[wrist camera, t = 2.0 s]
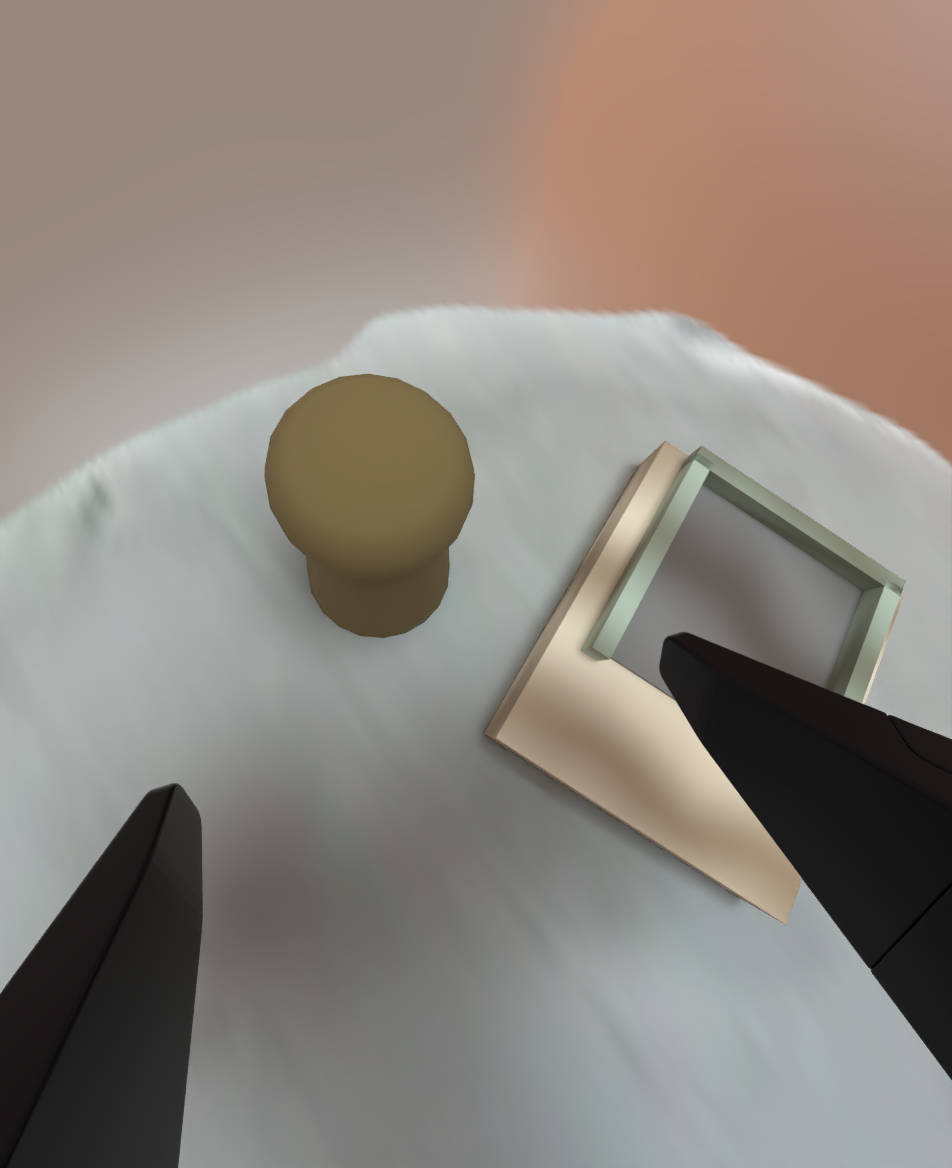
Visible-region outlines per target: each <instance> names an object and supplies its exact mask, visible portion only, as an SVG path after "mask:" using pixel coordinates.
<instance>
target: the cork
mask: <svg viewBox="0 0 952 1168" xmlns="http://www.w3.org/2000/svg"><path fill="white" fill-rule="evenodd" d="M474 479H475V474H474V468H473V464H472V460H471V456H470V452H469V448H468V444H467V440H466V437H465V436H464V434H463V432H462V431H461V429H460V428H459V426H458V425H457V423H456V421H455V420H454V418H453V417H452V415H451V413H450V412H448V411H447V410H446V409H445V408H444V407H443V406H441V405H440V404H439V403H438V402H437V401H436V400H435V399H433V398H432V397H431V396H430V395H429V394H428V393H426V392H424V391H423V390H421V389H419V388H416V387H414V386H412V385H410V384H408V383H406V382H404V381H401V380H399V379H397V378H391V377H385V376H379V375H373V374H362V375H353V376H344V377H339V378H336V379H334V380H331V381H329V382H327V383H324V384H322V385H319V386H317V387H315V388H313V389H311V390H310V391H309V392H307V393H306V394H305V395H304V396H303V397H301V398H300V399H299V400H298V401H297V402H296V403H294V404H293V405H292V406H291V407H290V408H288V409H287V410H286V411H285V413H284V415H283V416H282V418H281V420H280V422H279V423H278V425H277V427H276V428H275V430H274V432H273V433H272V435H271V437H270V442H269V448H268V453H267V458H266V464H265V482H266V487H267V493H268V499H269V505H270V508H271V510H272V512H273V514H274V515H275V517H276V519H277V521H278V522H279V524H280V526H281V528H282V529H283V531H284V533H285V535H286V536H287V538H288V539H289V540H290V542H291V543H292V544H293V545H294V546H295V547H296V548H298V549H299V550H300V551H301V552H302V553H303V554H304V555H305V556H306V557H307V568H308V575H309V581H310V586H311V591H312V594H313V596H314V597H315V599H316V601H317V603H318V604H319V606H320V608H321V610H322V611H323V612H324V613H325V614H326V615H327V616H328V617H329V618H330V619H331V620H333V621H334V622H335V623H336V624H337V625H338V626H339V627H342V628H344V629H346V630H349V631H351V632H353V633H356V634H358V635H360V636H370V637H380V638H385V637H389V636H394V635H398V634H403V633H406V632H408V631H410V630H411V629H413V628H415V627H417V626H418V625H420V624H422V623H424V622H425V621H426V620H427V619H428V618H429V616H430V615H431V614H432V613H433V612H434V611H435V610H436V609H437V608H438V606H439V605H440V603H441V600H442V598H443V596H444V594H445V591H446V589H447V587H448V577H449V566H450V565H449V549H448V547H449V546H450V545H451V544H452V543H453V542H454V541H455V540H456V539H457V537H458V535H459V533H460V531H461V529H462V527H463V524H464V522H465V520H466V518H467V515H468V513H469V511H470V509H471V506H472V503H473V491H474Z"/></svg>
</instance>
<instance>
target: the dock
mask: <svg viewBox="0 0 952 1168" xmlns="http://www.w3.org/2000/svg"><path fill="white" fill-rule="evenodd" d="M905 582H906V581H905V580H903V579H902V578H900V577H899V576H897V575H896V574H894V573H893V572H891V571H890V570H888V569H887V568H885V567H884V566H882V565H881V564H879V563H878V562H876V561H875V560H873V559H872V558H870V557H868V556H867V555H865V554H864V553H862V552H861V551H859V550H858V549H856V548H855V547H853V546H852V545H850V544H849V543H847V542H846V541H844V540H843V539H841V538H840V537H838V536H837V535H835V534H834V533H832V532H831V531H829V530H828V529H826V528H825V527H823V526H822V525H820V524H819V523H817V522H816V521H814V520H813V519H811V518H810V517H808V516H807V515H805V514H804V513H802V512H801V511H799V510H798V509H796V508H795V507H793V506H792V505H790V504H789V503H787V502H786V501H784V500H783V499H781V498H780V497H778V496H777V495H775V494H774V493H772V492H771V491H769V490H768V489H766V488H765V487H763V486H762V485H760V484H759V483H757V482H755V481H754V480H752V479H751V478H749V477H748V476H746V475H745V474H743V473H742V472H740V471H739V470H737V469H736V468H734V467H733V466H731V465H730V464H728V463H727V462H725V461H724V460H722V459H721V458H719V457H718V456H716V455H715V454H713V453H712V452H710V451H709V450H707V449H706V448H704V447H703V446H701V447H700V448H698V449H697V450H696V451H695V452H693V453H692V454H691V455H690V456H688V455H686V454H685V453H683V452H682V451H680V450H679V449H677V448H676V447H674V446H673V445H671V444H670V443H668V442H667V441H665V442H664V443H662V444H661V445H660V446H659V447H658V448H657V449H656V450H655V451H654V452H653V453H652V454H651V455H650V456H649V457H647V458H646V459H645V460H644V461H643V462H642V463H641V464H640V465H639V466H638V468H637V470H636V472H635V473H634V475H633V477H632V478H631V480H630V482H629V484H628V485H627V487H626V489H625V491H624V492H623V494H622V496H621V497H620V499H619V501H618V503H617V504H616V506H615V508H614V510H613V511H612V513H611V515H610V516H609V518H608V520H607V522H606V523H605V525H604V527H603V528H602V530H601V532H600V534H599V535H598V537H597V539H596V541H595V542H594V544H593V546H592V547H591V549H590V551H589V553H588V554H587V556H586V558H585V560H584V561H583V563H582V565H581V566H580V568H579V570H578V572H577V573H576V575H575V577H574V578H573V580H572V582H571V584H570V585H569V587H568V589H567V591H566V592H565V594H564V596H563V597H562V599H561V601H560V603H559V604H558V606H557V608H556V610H555V611H554V613H553V615H552V616H551V618H550V620H549V622H548V623H547V625H546V627H545V629H544V630H543V632H542V634H541V635H540V637H539V639H538V641H537V642H536V644H535V646H534V647H533V649H532V651H531V653H530V654H529V656H528V658H527V660H526V661H525V663H524V665H523V666H522V668H521V670H520V672H519V673H518V675H517V677H516V679H515V680H514V682H513V684H512V685H511V687H510V689H509V691H508V692H507V694H506V696H505V697H504V699H503V701H502V703H501V704H500V706H499V708H498V710H497V711H496V713H495V715H494V716H493V718H492V720H491V722H490V723H489V725H488V727H487V729H486V730H485V732H484V734H485V735H487V736H489V737H490V738H492V739H493V740H495V741H496V742H498V743H499V744H501V745H503V746H504V747H506V748H507V749H509V750H510V751H512V752H513V753H515V754H517V755H518V756H520V757H521V758H523V759H524V760H526V761H527V762H529V763H531V764H532V765H534V766H535V767H537V768H538V769H540V770H541V771H543V772H545V773H546V774H548V775H549V776H551V777H552V778H554V779H555V780H557V781H559V782H560V783H562V784H563V785H565V786H566V787H568V788H569V789H571V790H573V791H574V792H576V793H577V794H579V795H580V796H582V797H583V798H585V799H586V800H588V801H590V802H591V803H593V804H594V805H596V806H597V807H599V808H600V809H602V810H604V811H605V812H607V813H608V814H610V815H611V816H613V817H614V818H616V819H618V820H619V821H621V822H622V823H624V824H625V825H627V826H628V827H630V828H632V829H633V830H635V831H636V832H638V833H639V834H641V835H642V836H644V837H646V838H647V839H649V840H650V841H652V842H653V843H655V844H656V845H658V846H660V847H661V848H663V849H664V850H666V851H667V852H669V853H670V854H672V855H674V856H675V857H677V858H678V859H680V860H681V861H683V862H684V863H686V864H688V865H689V866H691V867H692V868H694V869H695V870H697V871H698V872H700V873H702V874H703V875H705V876H706V877H708V878H709V879H711V880H712V881H714V882H715V883H717V884H719V885H720V886H722V887H723V888H725V889H726V890H728V891H729V892H731V893H733V894H734V895H736V896H737V897H739V898H740V899H742V900H744V901H745V902H747V903H749V904H751V905H752V906H754V907H756V908H758V909H759V910H761V911H763V912H765V913H766V914H768V915H770V916H772V917H773V918H775V919H777V920H779V921H780V922H782V923H784V924H786V923H787V921H788V918H789V915H790V912H791V909H792V907H793V904H794V901H795V898H796V895H797V893H798V890H799V887H800V884H801V881H802V878H801V877H800V875H799V874H798V873H797V871H796V870H795V869H794V867H793V866H792V864H791V863H790V862H789V860H788V859H787V858H786V856H785V855H784V854H783V852H782V851H781V850H780V848H779V847H778V846H777V844H776V843H775V842H774V840H773V839H772V838H771V836H770V835H769V834H768V832H767V831H766V830H765V828H764V827H763V826H762V824H761V823H760V822H759V820H758V819H757V817H756V816H755V815H754V813H753V812H752V811H751V809H750V808H749V807H748V805H747V804H746V803H745V801H744V800H743V799H742V797H741V796H740V795H739V793H738V792H737V791H736V789H735V788H734V787H733V785H732V784H731V783H730V781H729V780H728V779H727V777H726V776H725V775H724V773H723V772H722V770H721V769H720V768H719V766H718V765H717V764H716V762H715V761H714V760H713V758H712V757H711V756H710V754H709V753H708V752H707V750H706V749H705V747H704V746H703V745H702V743H701V742H700V740H699V739H698V737H697V736H696V734H695V732H694V731H693V729H692V727H691V726H690V724H689V722H688V721H687V719H686V717H685V716H684V714H683V712H682V711H681V709H680V707H679V706H678V704H677V702H676V701H675V699H674V697H673V696H672V694H671V692H670V691H669V689H668V687H667V686H666V684H665V682H664V681H663V679H662V677H661V674H660V671H659V662H660V657H661V651H662V645H663V641H664V639H665V638H666V637H667V636H669V635H672V634H676V633H679V632H688V633H691V634H693V635H696V636H698V637H701V638H703V639H706V640H708V641H710V642H713V643H715V644H718V645H720V646H723V647H725V648H728V649H730V650H733V651H735V652H737V653H740V654H742V655H745V656H747V657H750V658H752V659H755V660H757V661H759V662H762V663H764V664H767V665H769V666H772V667H774V668H777V669H779V670H782V671H784V672H786V673H789V674H791V675H794V676H796V677H799V678H801V679H804V680H806V681H808V682H811V683H813V684H816V685H818V686H821V687H823V688H826V689H828V690H831V691H833V692H835V693H838V694H840V695H843V696H845V697H848V698H850V699H853V700H855V701H857V702H860V703H862V704H865V702H866V699H867V696H868V694H869V691H870V688H871V685H872V682H873V680H874V677H875V674H876V671H877V668H878V666H879V663H880V660H881V657H882V654H883V652H884V649H885V646H886V643H887V640H888V638H889V635H890V632H891V629H892V626H893V624H894V621H895V618H896V615H897V612H898V610H899V607H900V604H901V601H902V597H901V593H902V590H903V587H904V584H905Z"/></svg>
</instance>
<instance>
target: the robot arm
mask: <svg viewBox="0 0 952 1168" xmlns="http://www.w3.org/2000/svg"><path fill="white" fill-rule="evenodd" d="M659 671H660V674H661V677H662V679H663V681H664V682H665V684H666V686H667V687H668V689H669V691H670V692H671V694H672V696H673V697H674V699H675V701H676V702H677V704H678V706H679V707H680V709H681V711H682V712H683V714H684V716H685V717H686V719H687V721H688V722H689V724H690V726H691V727H692V729H693V731H694V732H695V734H696V736H697V737H698V739H699V740H700V742H701V743H702V745H703V746H704V747H705V749H706V750H707V752H708V753H709V754H710V756H711V757H712V758H713V760H714V761H715V762H716V764H717V765H718V766H719V768H720V769H721V770H722V772H723V773H724V775H725V776H726V777H727V779H728V780H729V781H730V783H731V784H732V785H733V787H734V788H735V789H736V791H737V792H738V793H739V795H740V796H741V797H742V799H743V800H744V801H745V803H746V804H747V805H748V807H749V808H750V809H751V811H752V812H753V813H754V815H755V816H756V817H757V819H758V820H759V822H760V823H761V824H762V826H763V827H764V828H765V830H766V831H767V832H768V834H769V835H770V836H771V838H772V839H773V840H774V842H775V843H776V844H777V846H778V847H779V848H780V850H781V851H782V852H783V854H784V855H785V856H786V858H787V859H788V860H789V862H790V863H791V864H792V866H793V867H794V869H795V870H796V871H797V873H798V874H799V875H800V877H801V878H802V879H803V881H804V882H805V883H806V885H807V886H808V887H809V889H810V890H811V891H812V893H813V894H814V895H815V897H816V898H817V899H818V901H819V902H820V903H821V905H822V906H823V907H824V909H825V910H826V911H827V913H828V914H829V916H830V917H831V918H832V920H833V921H834V922H835V924H836V925H837V926H838V928H839V929H840V930H841V932H842V933H843V934H844V936H845V937H846V938H847V940H848V941H849V942H850V944H851V945H852V946H853V948H854V949H855V950H856V952H857V953H858V954H859V956H860V957H861V958H862V960H863V961H864V963H865V964H866V965H867V967H868V968H870V969H871V972H872V974H873V975H874V977H875V978H876V979H877V981H878V982H879V983H880V985H881V986H882V987H883V989H884V990H885V991H886V993H887V994H888V995H889V997H890V998H891V999H892V1001H893V1002H894V1003H895V1005H896V1006H897V1007H898V1009H899V1010H900V1011H901V1013H902V1014H903V1015H904V1017H905V1018H906V1019H907V1021H908V1022H909V1023H910V1025H911V1026H912V1027H913V1029H914V1030H915V1032H916V1033H917V1034H918V1036H919V1037H920V1038H921V1040H922V1041H923V1042H924V1044H925V1045H926V1046H927V1048H928V1049H929V1050H930V1052H931V1053H932V1054H933V1056H934V1057H935V1058H936V1060H937V1061H938V1062H939V1064H940V1065H941V1066H942V1068H943V1069H944V1070H945V1072H946V1073H947V1074H948V1076H949V1077H950V1078H951V1080H952V739H950V738H947V737H945V736H942V735H940V734H937V733H934V732H932V731H929V730H927V729H924V728H922V727H919V726H917V725H914V724H912V723H909V722H907V721H904V720H902V719H899V718H897V717H895V716H892V715H888V716H887V714H886V713H884V712H882V711H880V710H877V709H875V708H872V707H870V706H867V705H865V704H862V703H860V702H857V701H855V700H853V699H850V698H848V697H845V696H843V695H840V694H838V693H835V692H833V691H831V690H828V689H826V688H823V687H821V686H818V685H816V684H813V683H811V682H808V681H806V680H804V679H801V678H799V677H796V676H794V675H791V674H789V673H786V672H784V671H782V670H779V669H777V668H774V667H772V666H769V665H767V664H764V663H762V662H759V661H757V660H755V659H752V658H750V657H747V656H745V655H742V654H740V653H737V652H735V651H733V650H730V649H728V648H725V647H723V646H720V645H718V644H715V643H713V642H710V641H708V640H706V639H703V638H701V637H698V636H696V635H693V634H691V633H688V632H679V633H676V634H672V635H669V636H667V637H666V638H665V639H664V641H663V645H662V651H661V657H660V662H659ZM202 919H203V892H202V826H201V818H200V814H199V811H198V810H197V808H196V806H195V805H194V804H193V802H192V801H191V799H190V798H189V796H188V795H187V793H186V792H185V790H184V789H183V787H182V786H181V785H179V784H177V783H173V784H169V785H166V786H163V787H159V788H156V789H153V790H151V791H149V792H148V793H147V794H146V795H145V796H144V798H143V799H142V800H141V802H140V803H139V805H138V806H137V807H136V809H135V810H134V811H133V813H132V814H131V815H130V817H129V818H128V820H127V821H126V822H125V824H124V825H123V826H122V828H121V829H120V831H119V832H118V833H117V835H116V836H115V837H114V839H113V840H112V841H111V843H110V844H109V846H108V847H107V848H106V850H105V851H104V852H103V854H102V855H101V856H100V858H99V859H98V861H97V862H96V863H95V865H94V866H93V867H92V869H91V870H90V872H89V873H88V874H87V876H86V877H85V878H84V880H83V881H82V882H81V884H80V885H79V887H78V888H77V889H76V891H75V892H74V893H73V895H72V896H71V898H70V899H69V900H68V902H67V903H66V904H65V906H64V907H63V908H62V910H61V911H60V913H59V914H58V915H57V917H56V918H55V919H54V921H53V922H52V923H51V925H50V926H49V928H48V929H47V930H46V932H45V933H44V934H43V936H42V937H41V939H40V940H39V941H38V943H37V944H36V945H35V947H34V948H33V949H32V951H31V952H30V954H29V955H28V956H27V958H26V959H25V960H24V962H23V963H22V965H21V966H20V967H19V969H18V970H17V971H16V973H15V974H14V975H13V977H12V978H11V980H10V981H9V982H8V984H7V985H6V986H5V988H4V989H3V990H2V992H1V993H0V1168H178V1163H179V1153H180V1143H181V1133H182V1123H183V1113H184V1103H185V1093H186V1083H187V1073H188V1063H189V1053H190V1043H191V1033H192V1023H193V1013H194V1003H195V994H196V984H197V974H198V964H199V954H200V944H201V933H202Z"/></svg>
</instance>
